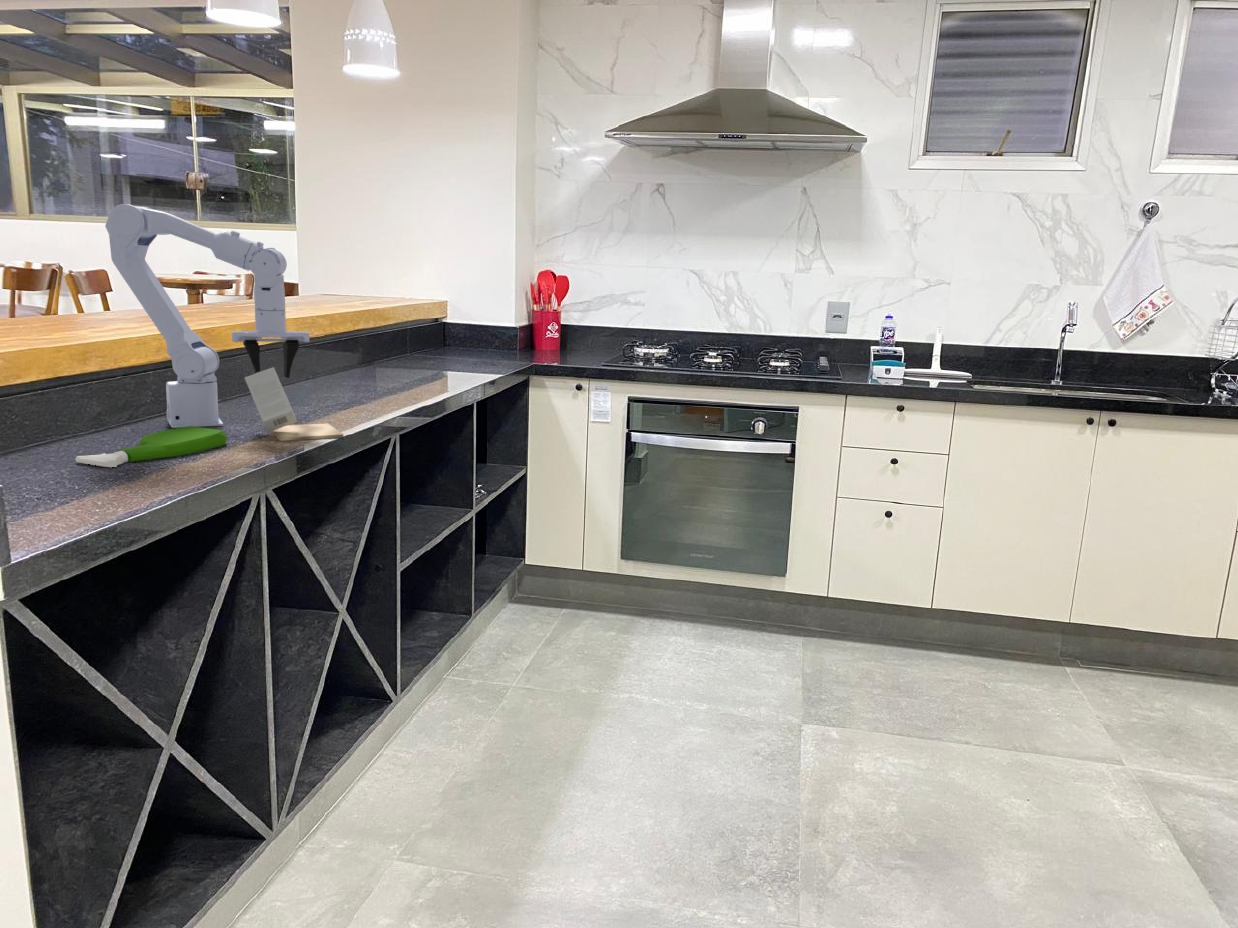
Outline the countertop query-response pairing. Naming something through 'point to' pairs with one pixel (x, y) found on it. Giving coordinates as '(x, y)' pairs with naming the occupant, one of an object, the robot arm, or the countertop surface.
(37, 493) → the countertop surface
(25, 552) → the countertop surface
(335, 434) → the cork mat
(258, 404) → the skincare box
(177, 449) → the spray bottle
